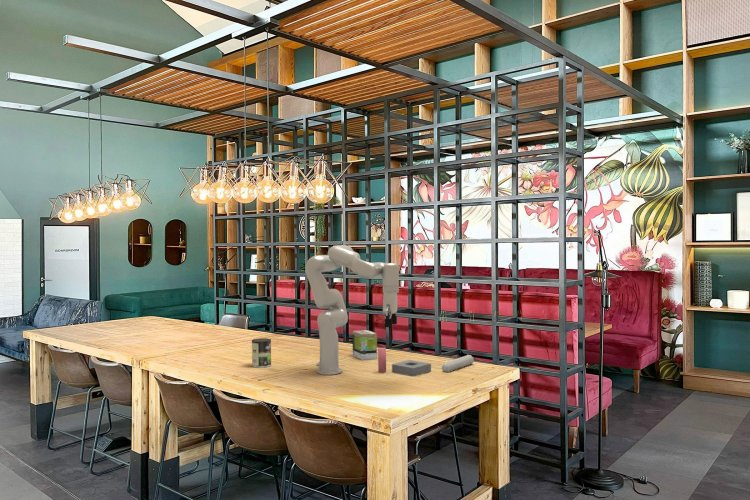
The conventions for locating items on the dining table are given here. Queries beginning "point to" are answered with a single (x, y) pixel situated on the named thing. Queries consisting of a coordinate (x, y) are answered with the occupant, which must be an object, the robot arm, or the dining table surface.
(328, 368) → the robot arm
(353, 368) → the dining table surface
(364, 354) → the tea box
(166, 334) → the dining table surface
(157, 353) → the dining table surface
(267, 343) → the coffee can
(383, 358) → the peg
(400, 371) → the socket block
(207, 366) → the dining table surface
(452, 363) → the tube
